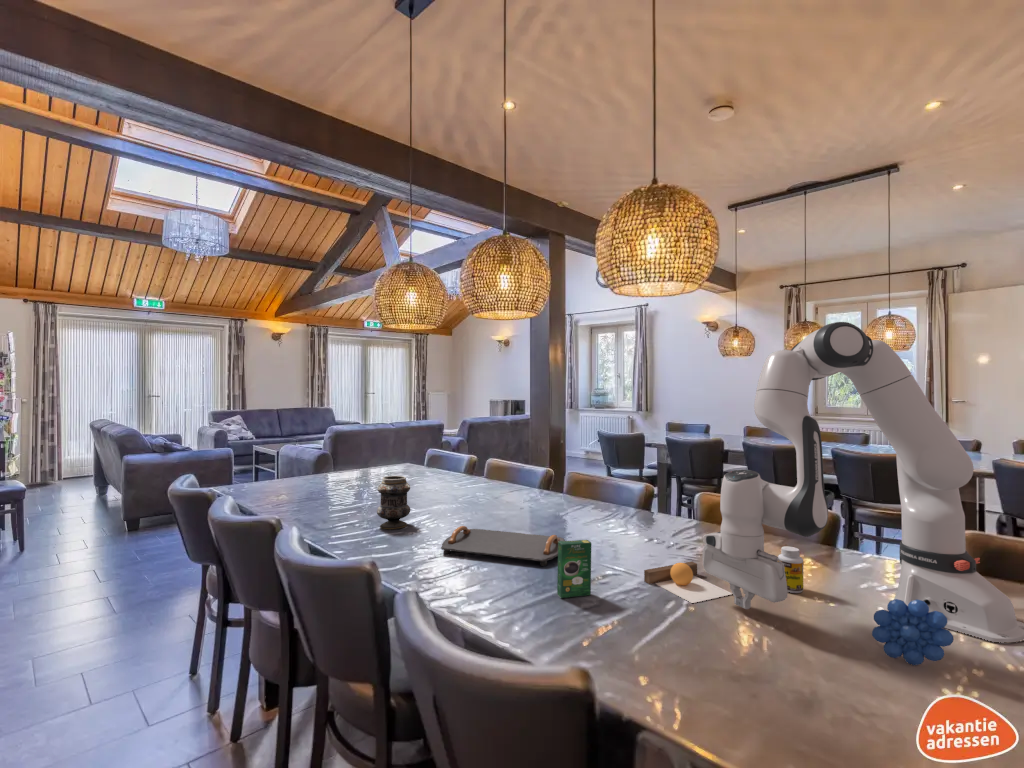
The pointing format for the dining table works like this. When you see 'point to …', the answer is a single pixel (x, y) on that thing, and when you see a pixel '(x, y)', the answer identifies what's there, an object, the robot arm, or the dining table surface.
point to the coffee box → (574, 568)
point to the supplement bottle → (792, 568)
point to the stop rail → (664, 573)
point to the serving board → (503, 544)
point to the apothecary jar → (393, 501)
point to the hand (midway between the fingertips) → (742, 606)
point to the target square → (695, 590)
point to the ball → (681, 574)
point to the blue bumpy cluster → (912, 631)
